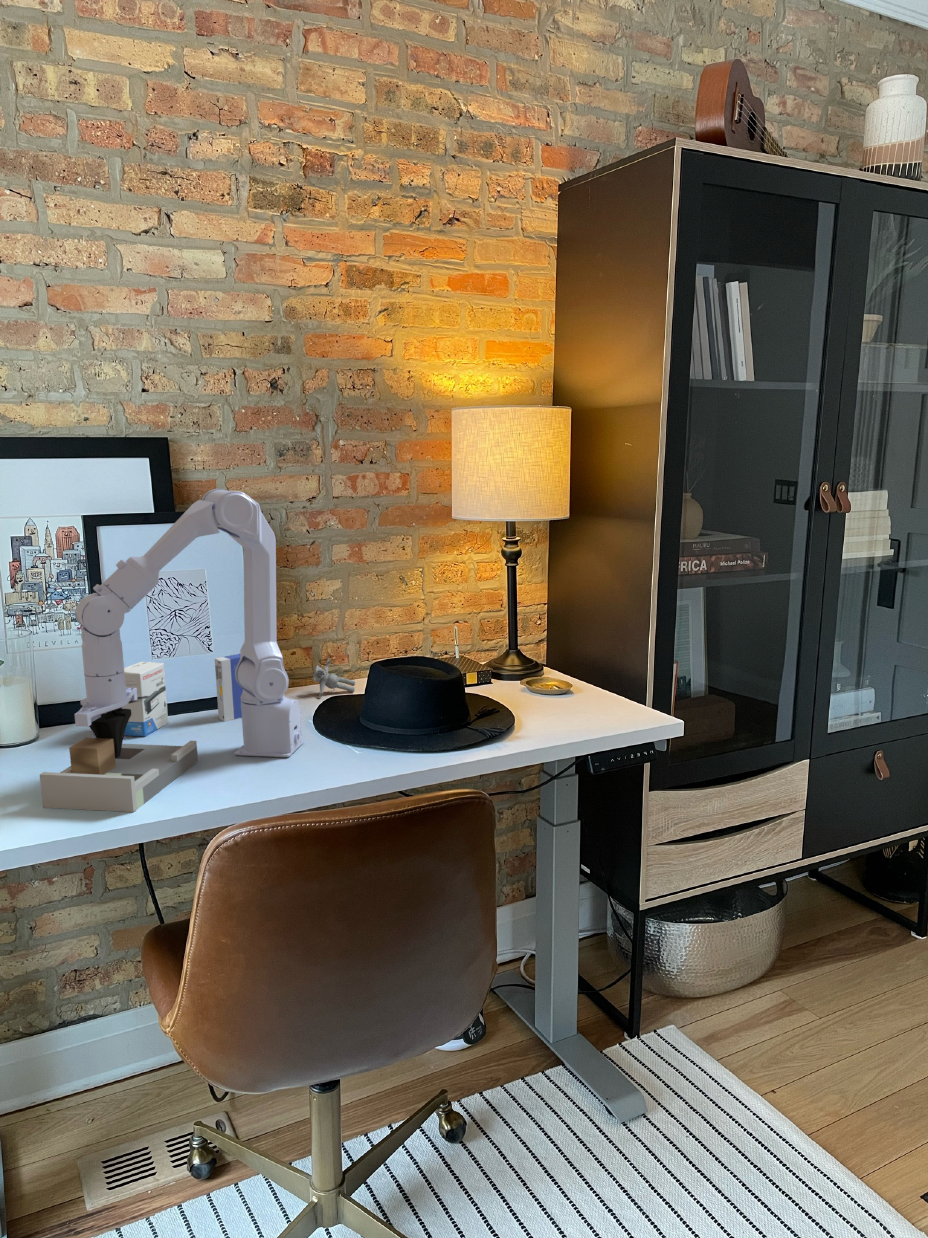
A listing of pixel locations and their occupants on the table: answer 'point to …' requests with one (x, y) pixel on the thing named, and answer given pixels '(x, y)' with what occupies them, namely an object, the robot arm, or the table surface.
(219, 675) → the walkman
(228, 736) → the table surface
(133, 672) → the ink box
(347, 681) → the grey toy figure
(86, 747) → the walnut block
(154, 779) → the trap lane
